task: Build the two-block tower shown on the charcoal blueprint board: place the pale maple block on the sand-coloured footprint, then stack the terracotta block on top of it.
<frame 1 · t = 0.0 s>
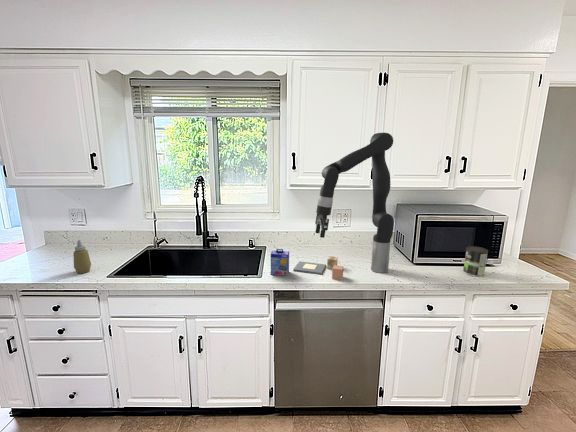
hand: (319, 235, 165), 22 cm above the worktop, tool pointing down, fingers open, 8 cm apart
coffee can: (473, 273, 173), on the worktop
squeeze bottle: (83, 272, 171), on the worktop
maple block: (332, 267, 179), on the worktop
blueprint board: (309, 268, 178), on the worktop
terracotta block: (337, 277, 166), on the worktop
ink cartridge box: (279, 273, 171), on the worktop
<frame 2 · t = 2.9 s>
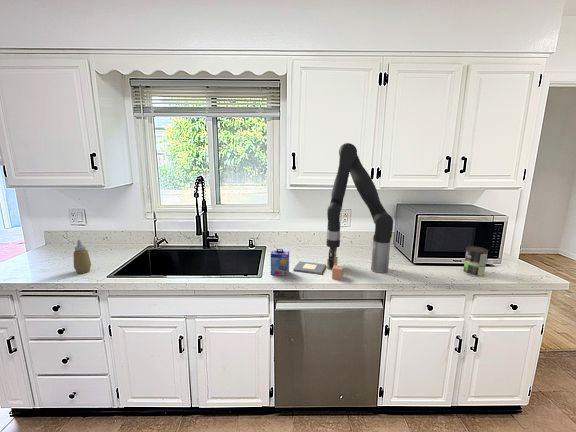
hand: (332, 266, 179), 1 cm above the worktop, tool pointing down, fingers closed on maple block, 5 cm apart
maple block: (332, 267, 179), on the worktop, touching gripper
everything else where it was.
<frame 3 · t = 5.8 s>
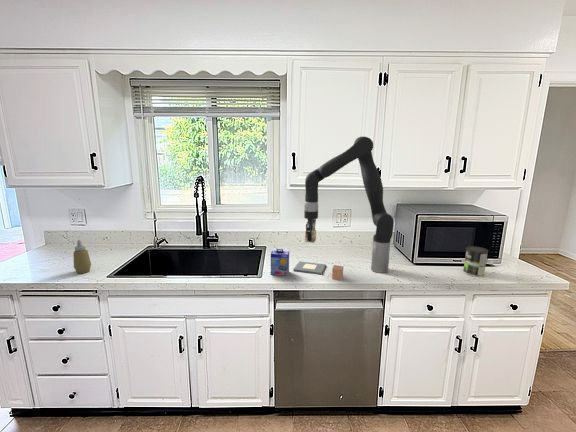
hand: (310, 239, 174), 17 cm above the worktop, tool pointing down, fingers closed on maple block, 5 cm apart
maple block: (310, 241, 175), point 16 cm above the worktop, touching gripper
everything else where it was.
when the fingers open (3 cm above the worktop, at t = 8.8 s): maple block drops 1 cm, resting on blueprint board.
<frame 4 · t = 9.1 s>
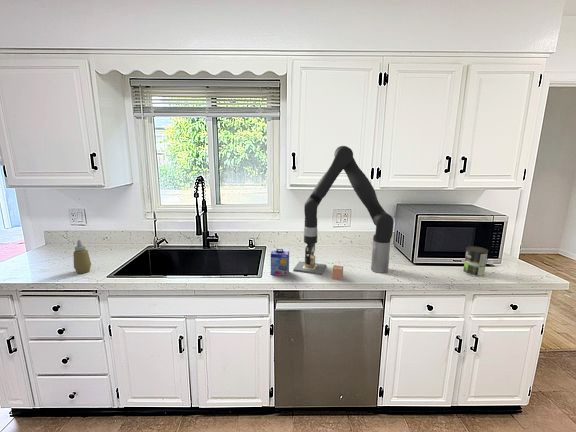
hand: (310, 261, 177), 4 cm above the worktop, tool pointing down, fingers open, 8 cm apart
maple block: (309, 266, 178), point 1 cm above the worktop, touching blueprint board
everything else where it was.
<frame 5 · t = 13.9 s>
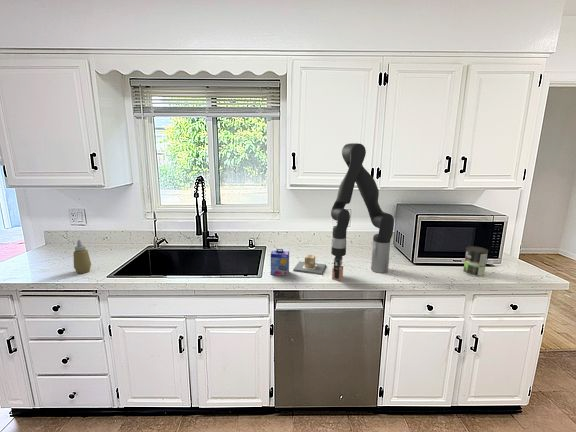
hand: (337, 276, 166), 1 cm above the worktop, tool pointing down, fingers closed on terracotta block, 5 cm apart
terracotta block: (337, 277, 166), on the worktop, touching gripper
everything else where it was.
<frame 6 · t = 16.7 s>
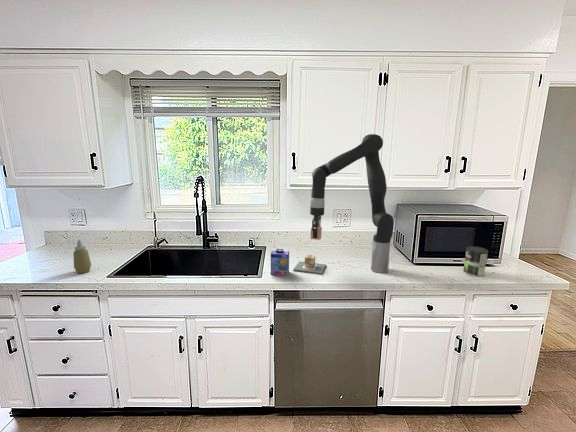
hand: (316, 236, 171), 20 cm above the worktop, tool pointing down, fingers closed on terracotta block, 5 cm apart
terracotta block: (315, 238, 171), point 19 cm above the worktop, touching gripper
everything else where it was.
when the fingers open (9 cm above the worktop, at t = 19.4 s): terracotta block drops 1 cm, resting on maple block.
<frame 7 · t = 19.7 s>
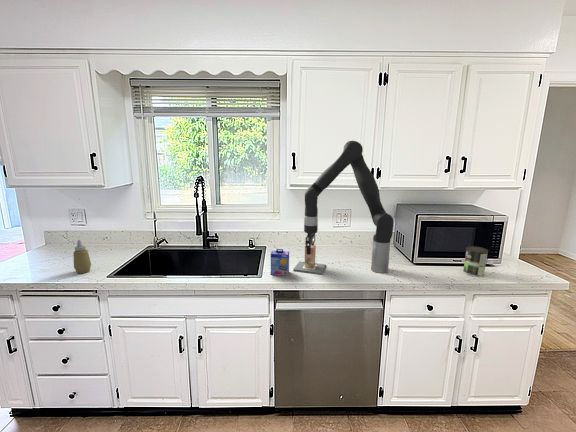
hand: (310, 251, 176), 10 cm above the worktop, tool pointing down, fingers open, 7 cm apart
maple block: (309, 266, 178), point 1 cm above the worktop, touching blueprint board, terracotta block
terracotta block: (310, 256, 177), point 7 cm above the worktop, touching maple block
everything else where it was.
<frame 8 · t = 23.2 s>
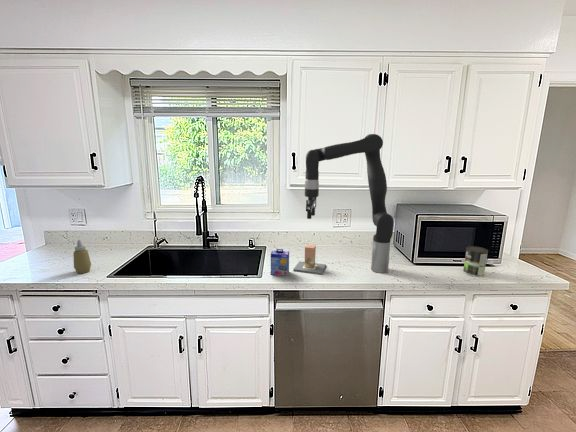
hand: (311, 217, 172), 30 cm above the worktop, tool pointing down, fingers open, 8 cm apart
nothing on the worktop moved.
at the end: maple block 0.1 cm off-centre on the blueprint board, point 1.2 cm above the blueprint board's base; terracotta block 0.1 cm off-centre on the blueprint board, point 7.2 cm above the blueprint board's base; terracotta block tilted 0° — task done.
